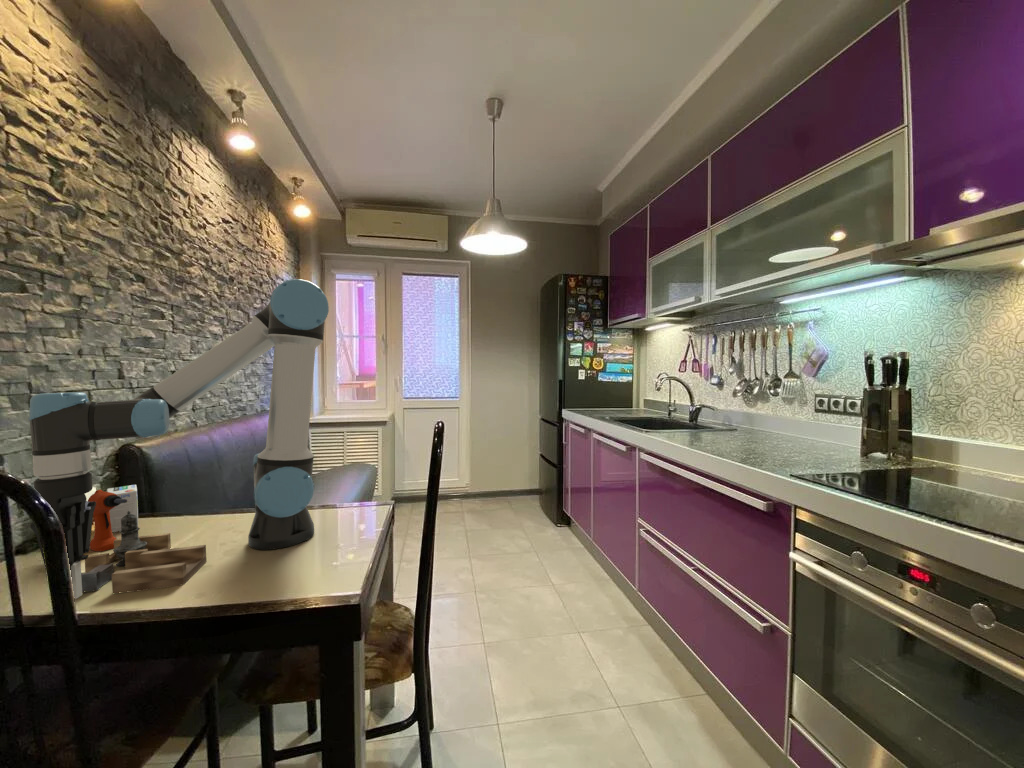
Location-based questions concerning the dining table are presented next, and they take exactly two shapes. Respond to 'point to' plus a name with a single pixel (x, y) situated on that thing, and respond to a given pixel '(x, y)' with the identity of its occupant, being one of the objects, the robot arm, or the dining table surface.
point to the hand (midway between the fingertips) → (70, 597)
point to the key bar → (97, 577)
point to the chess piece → (128, 538)
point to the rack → (161, 569)
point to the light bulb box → (123, 505)
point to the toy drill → (103, 519)
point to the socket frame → (130, 552)
